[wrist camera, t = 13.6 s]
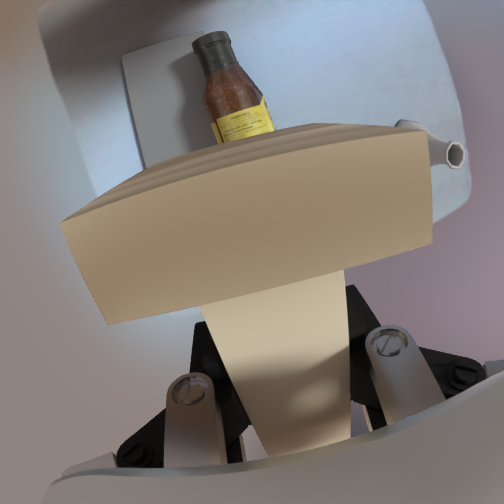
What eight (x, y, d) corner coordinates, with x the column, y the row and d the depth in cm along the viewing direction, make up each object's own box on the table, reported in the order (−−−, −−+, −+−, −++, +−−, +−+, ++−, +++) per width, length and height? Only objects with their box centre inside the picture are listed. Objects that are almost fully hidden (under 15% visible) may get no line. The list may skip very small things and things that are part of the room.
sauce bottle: (306, 191, 32) (252, 22, 24) (266, 215, 30) (202, 26, 21) (268, 190, 38) (219, 43, 29) (230, 211, 35) (173, 51, 26)
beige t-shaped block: (155, 163, 10) (59, 223, 4) (312, 123, 10) (426, 130, 4) (247, 404, 16) (257, 510, 10) (345, 380, 16) (384, 479, 10)
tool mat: (122, 56, 27) (121, 55, 27) (203, 32, 27) (202, 31, 27) (162, 222, 37) (162, 223, 36) (240, 204, 36) (240, 205, 36)
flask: (380, 159, 35) (424, 172, 26) (396, 110, 33) (442, 111, 24) (420, 178, 37) (465, 196, 27) (434, 133, 34) (482, 141, 25)
